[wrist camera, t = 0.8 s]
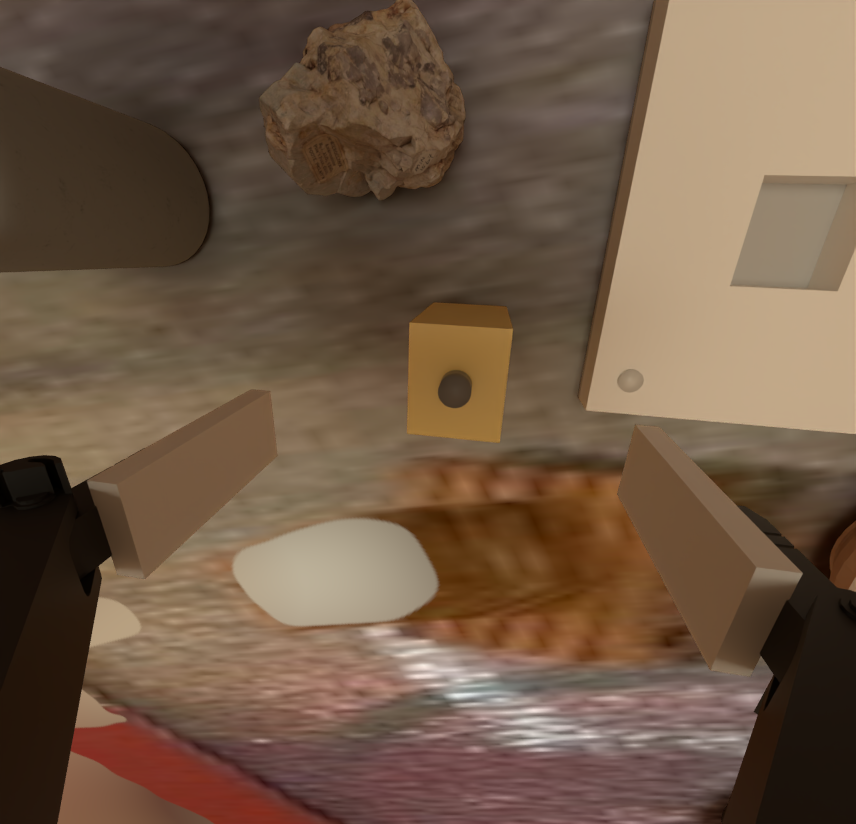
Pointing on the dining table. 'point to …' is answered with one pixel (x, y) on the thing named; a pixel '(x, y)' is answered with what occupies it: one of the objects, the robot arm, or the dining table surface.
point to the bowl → (844, 560)
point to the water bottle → (91, 185)
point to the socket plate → (735, 222)
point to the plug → (458, 371)
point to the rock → (366, 107)
